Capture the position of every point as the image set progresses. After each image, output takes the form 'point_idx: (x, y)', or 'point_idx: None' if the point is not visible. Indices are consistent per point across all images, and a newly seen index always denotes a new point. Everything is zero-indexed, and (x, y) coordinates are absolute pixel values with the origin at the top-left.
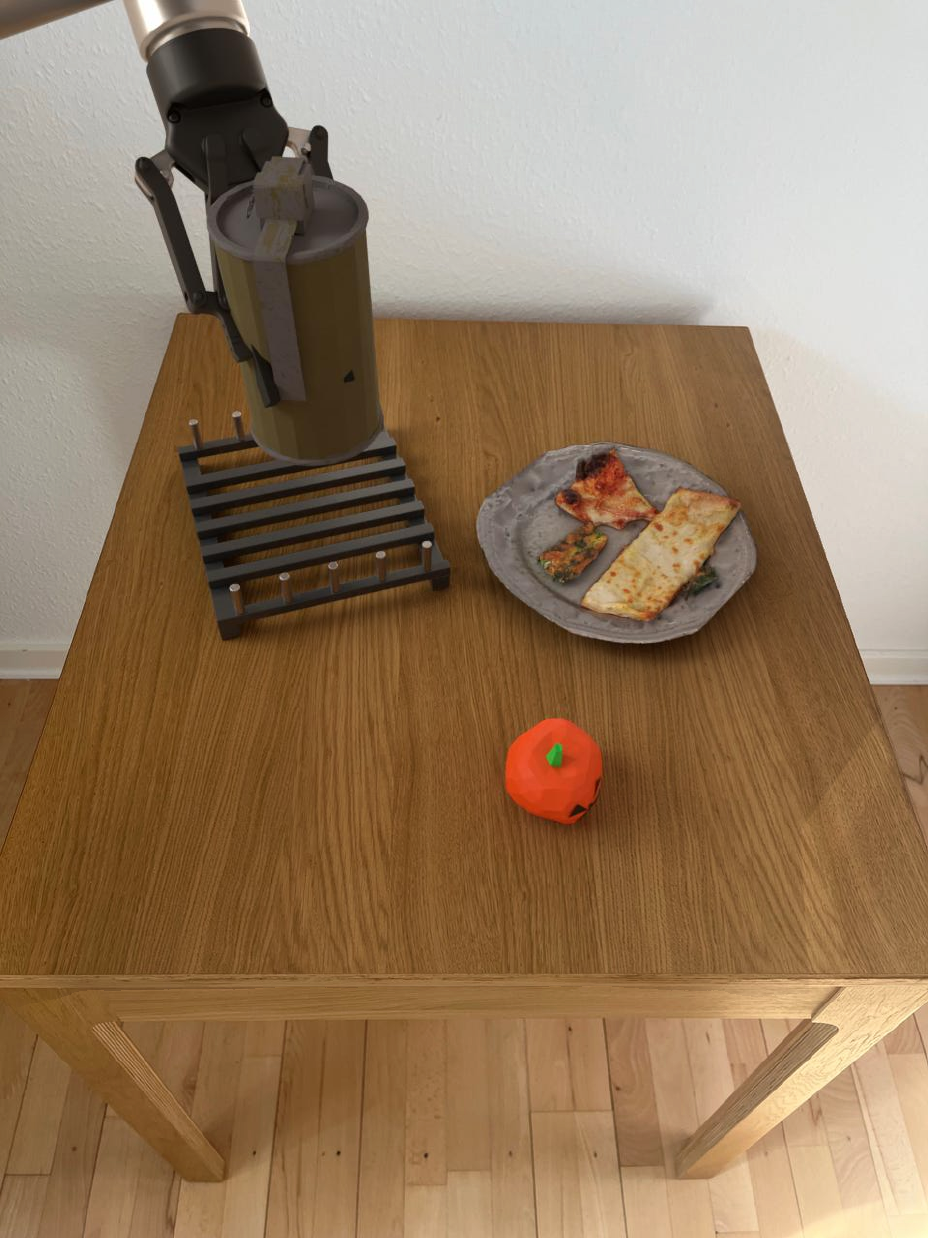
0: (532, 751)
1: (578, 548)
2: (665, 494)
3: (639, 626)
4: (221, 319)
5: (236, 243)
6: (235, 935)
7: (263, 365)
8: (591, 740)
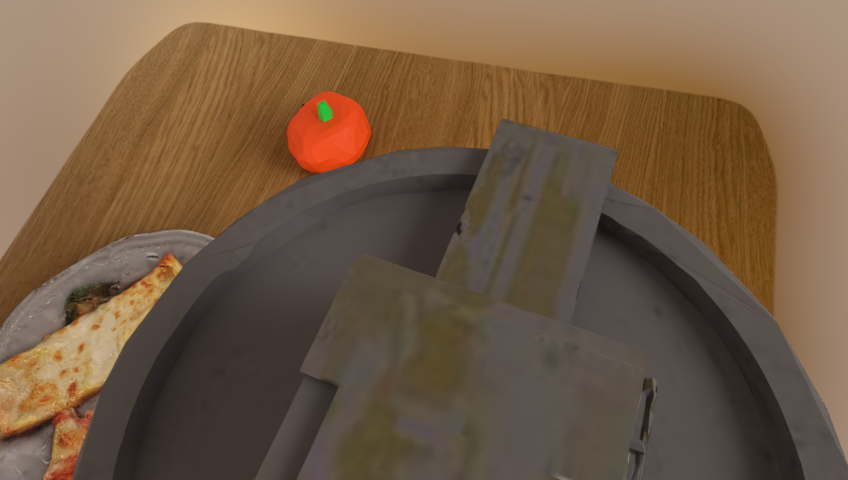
0: (341, 121)
1: None
2: (24, 450)
3: (181, 260)
4: None
5: (681, 330)
6: (589, 97)
7: None
8: (290, 130)
